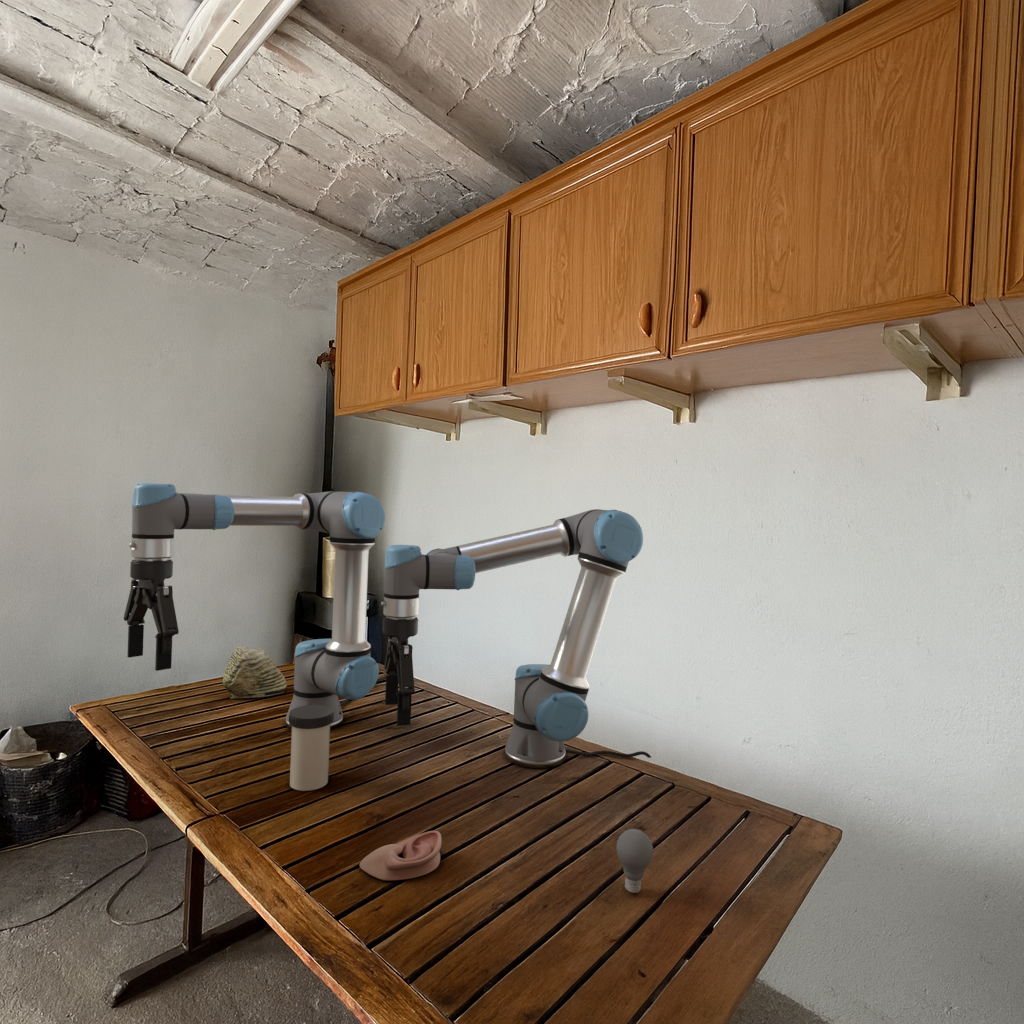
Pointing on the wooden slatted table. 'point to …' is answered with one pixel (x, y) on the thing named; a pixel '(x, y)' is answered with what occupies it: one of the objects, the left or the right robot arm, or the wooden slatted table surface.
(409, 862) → the anatomical model
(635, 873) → the light bulb
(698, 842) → the wooden slatted table surface
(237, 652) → the fossil
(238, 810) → the wooden slatted table surface
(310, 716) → the lid
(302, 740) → the jar
